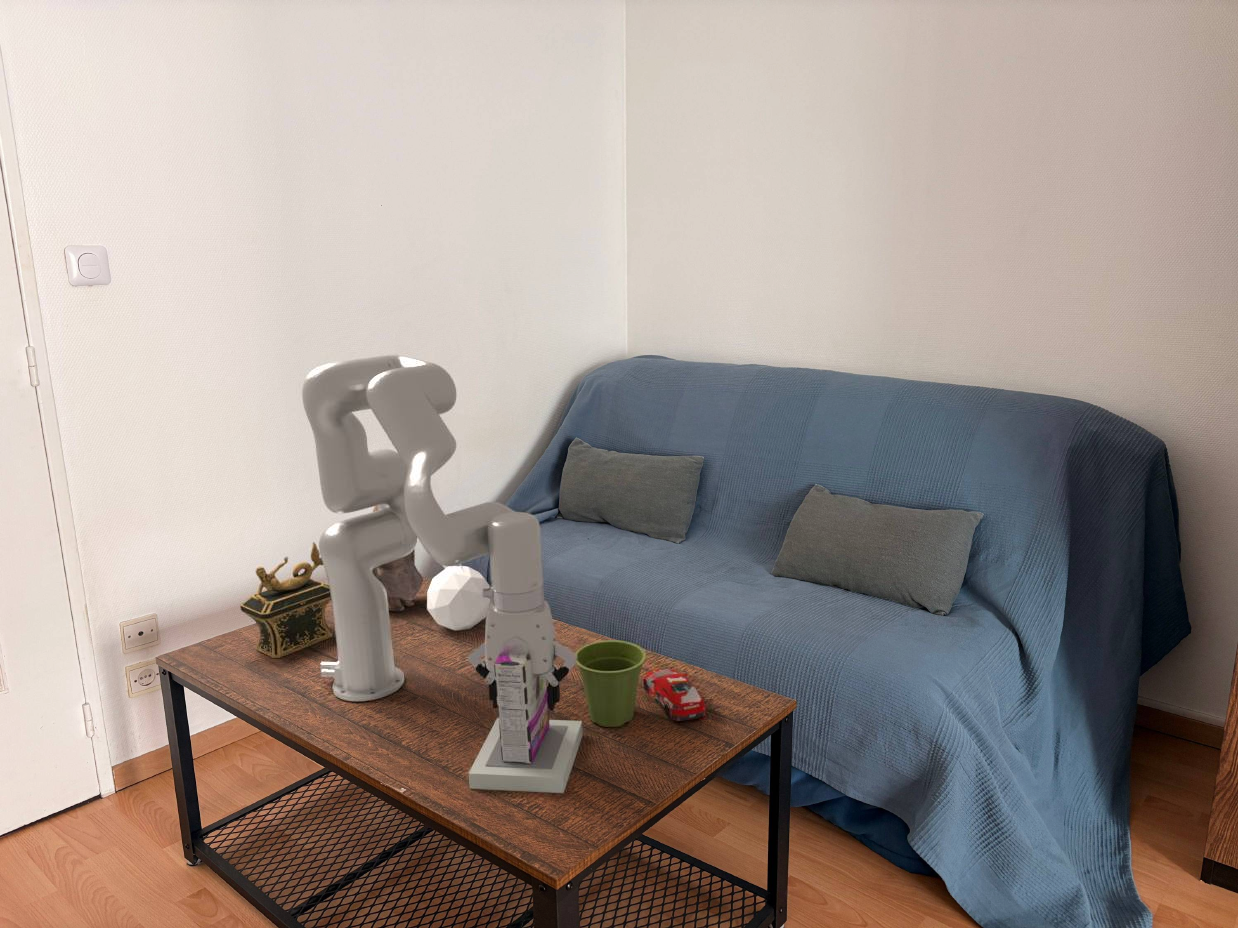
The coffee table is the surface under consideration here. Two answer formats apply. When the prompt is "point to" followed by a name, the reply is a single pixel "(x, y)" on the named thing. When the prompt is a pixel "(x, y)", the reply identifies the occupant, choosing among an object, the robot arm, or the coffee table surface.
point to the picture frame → (537, 777)
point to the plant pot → (610, 679)
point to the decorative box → (290, 609)
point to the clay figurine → (399, 580)
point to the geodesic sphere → (458, 597)
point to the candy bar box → (520, 708)
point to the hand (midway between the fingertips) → (525, 704)
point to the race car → (675, 694)
